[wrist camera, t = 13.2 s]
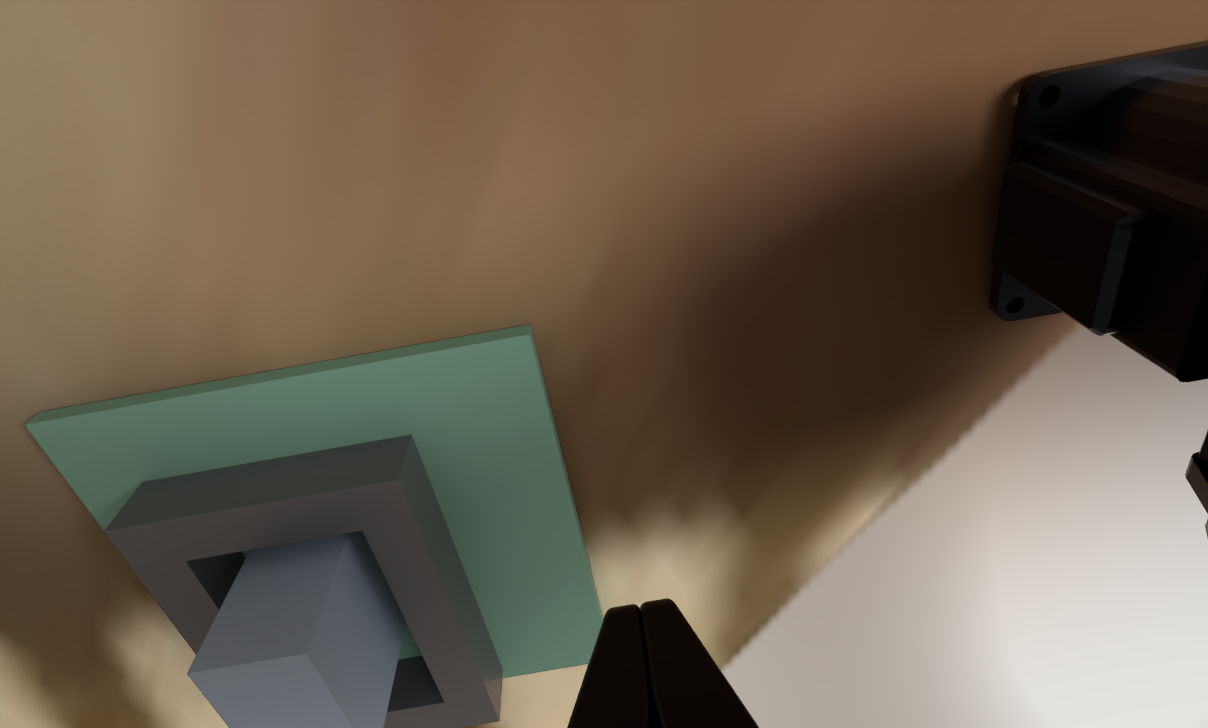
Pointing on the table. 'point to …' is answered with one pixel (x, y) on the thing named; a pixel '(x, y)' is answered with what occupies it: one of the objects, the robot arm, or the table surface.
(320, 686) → the plug
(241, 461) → the circuit board
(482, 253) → the table surface
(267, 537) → the header socket
